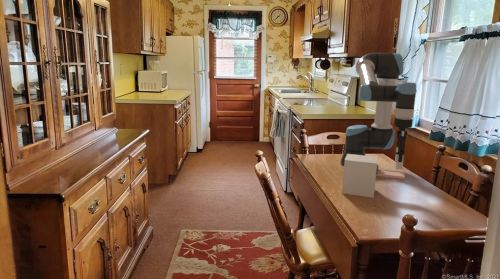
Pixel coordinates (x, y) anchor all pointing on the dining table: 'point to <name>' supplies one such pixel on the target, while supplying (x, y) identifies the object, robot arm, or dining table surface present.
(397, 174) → the ticket strip
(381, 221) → the dining table surface
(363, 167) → the block
